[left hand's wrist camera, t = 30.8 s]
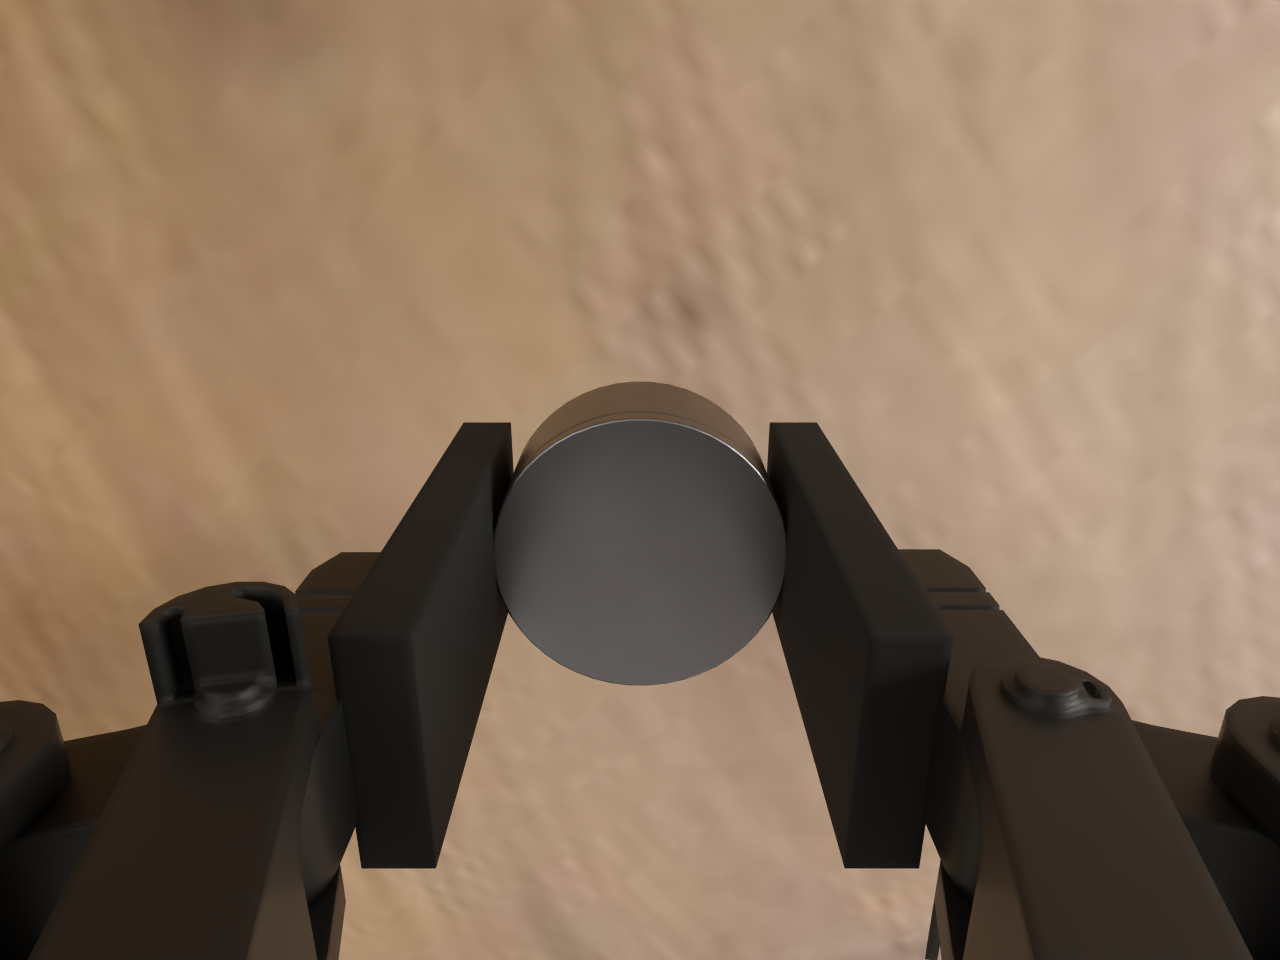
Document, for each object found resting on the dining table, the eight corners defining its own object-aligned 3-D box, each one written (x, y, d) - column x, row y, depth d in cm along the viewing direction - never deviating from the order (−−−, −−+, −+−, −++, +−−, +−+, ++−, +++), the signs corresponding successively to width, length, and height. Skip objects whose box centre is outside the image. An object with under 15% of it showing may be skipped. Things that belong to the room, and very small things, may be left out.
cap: (821, 475, 14) (850, 526, 12) (671, 659, 15) (674, 731, 13) (604, 326, 13) (598, 357, 11) (463, 535, 14) (436, 594, 13)
